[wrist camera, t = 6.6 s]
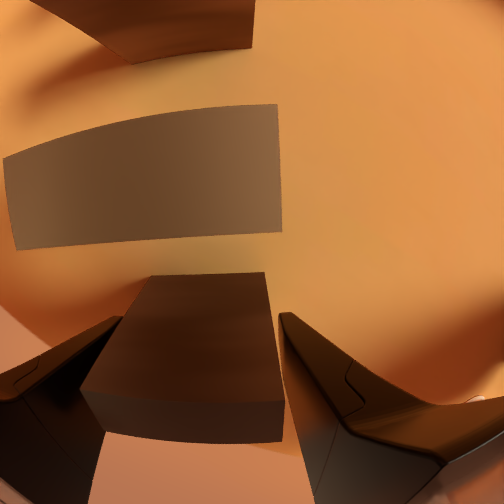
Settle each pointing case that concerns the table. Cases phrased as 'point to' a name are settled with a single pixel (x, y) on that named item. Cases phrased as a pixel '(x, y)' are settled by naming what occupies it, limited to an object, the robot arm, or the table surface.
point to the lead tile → (192, 364)
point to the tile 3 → (160, 25)
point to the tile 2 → (150, 179)
